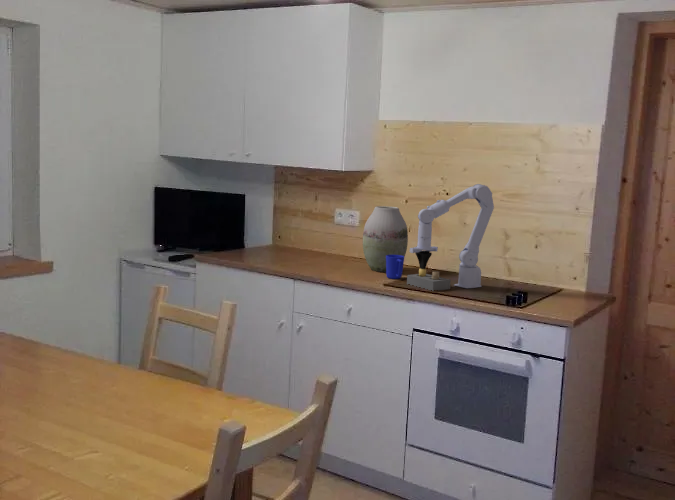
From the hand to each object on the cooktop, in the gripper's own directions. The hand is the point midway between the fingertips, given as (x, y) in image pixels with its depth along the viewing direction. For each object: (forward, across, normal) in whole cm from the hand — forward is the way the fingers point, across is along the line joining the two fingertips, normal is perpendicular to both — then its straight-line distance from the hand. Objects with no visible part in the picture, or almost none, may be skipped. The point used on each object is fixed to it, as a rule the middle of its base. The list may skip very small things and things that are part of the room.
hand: (422, 268), depth 311 cm
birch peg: (+4, 0, +8) cm, 9 cm away
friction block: (+7, 0, +4) cm, 8 cm away
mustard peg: (+4, 0, 0) cm, 4 cm away
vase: (+7, -9, -36) cm, 38 cm away
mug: (+7, +1, -16) cm, 18 cm away
